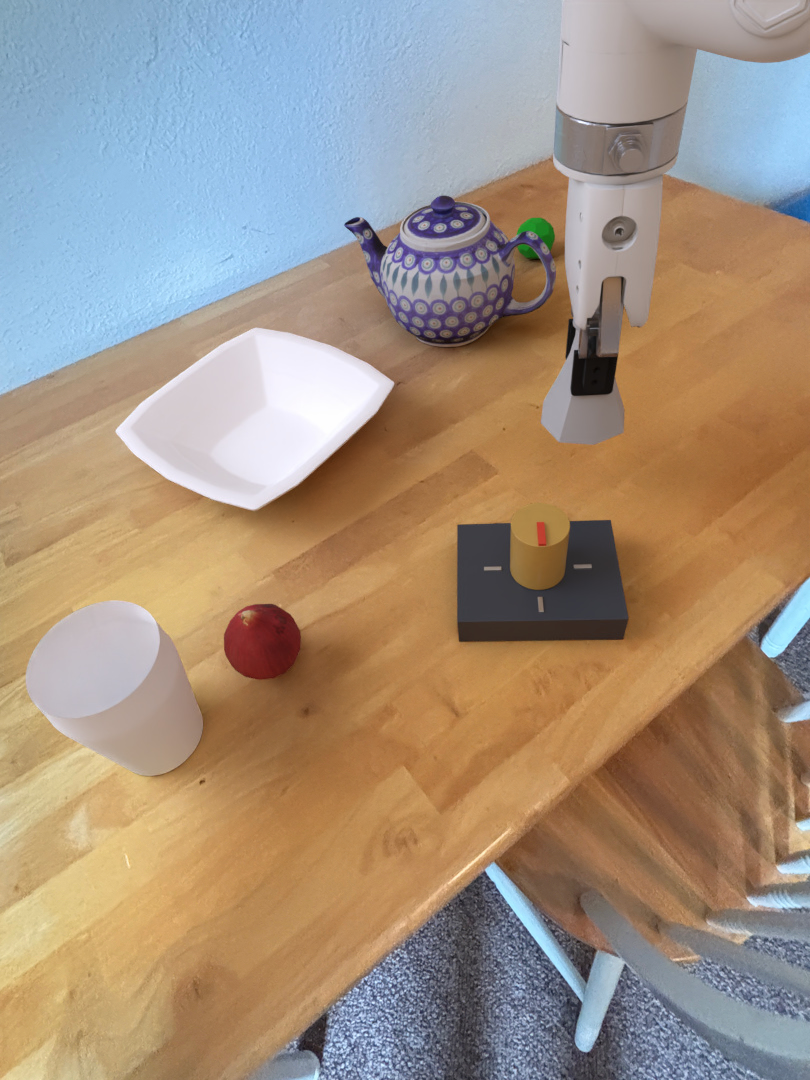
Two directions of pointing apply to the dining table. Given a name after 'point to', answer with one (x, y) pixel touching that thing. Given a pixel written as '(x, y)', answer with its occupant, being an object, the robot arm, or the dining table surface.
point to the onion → (262, 641)
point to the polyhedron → (540, 229)
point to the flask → (581, 408)
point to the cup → (117, 687)
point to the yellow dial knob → (539, 545)
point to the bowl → (255, 416)
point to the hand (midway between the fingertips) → (588, 375)
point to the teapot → (449, 271)
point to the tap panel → (539, 615)
